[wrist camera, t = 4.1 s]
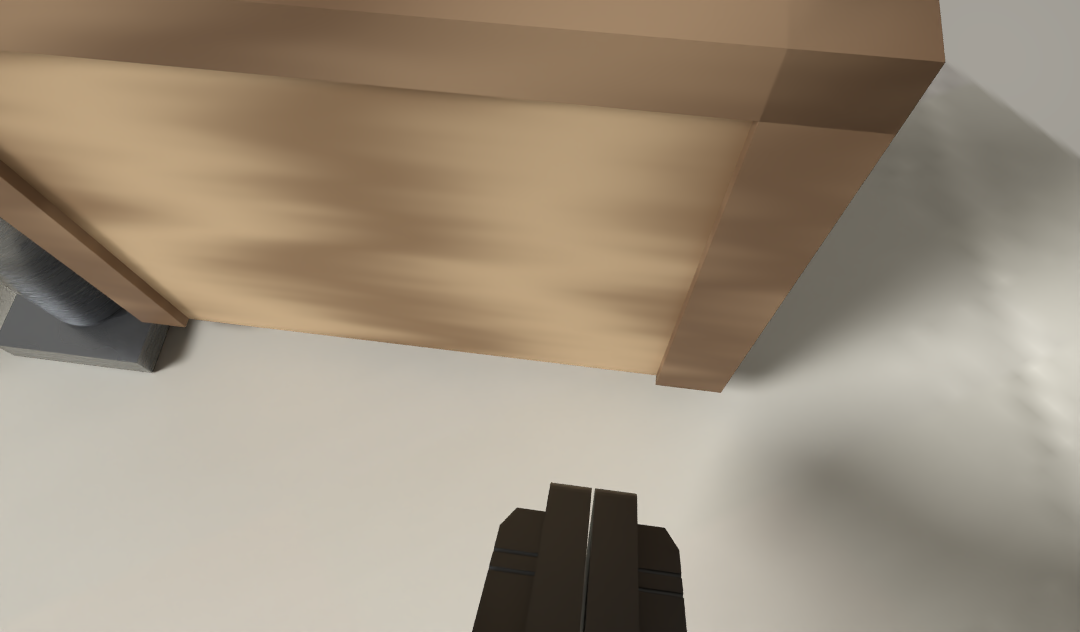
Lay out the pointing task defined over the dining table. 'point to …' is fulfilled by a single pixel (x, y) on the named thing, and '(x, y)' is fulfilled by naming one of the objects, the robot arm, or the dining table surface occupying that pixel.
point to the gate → (456, 163)
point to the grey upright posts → (68, 313)
